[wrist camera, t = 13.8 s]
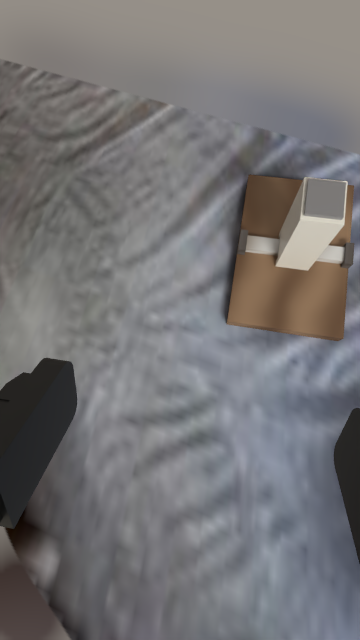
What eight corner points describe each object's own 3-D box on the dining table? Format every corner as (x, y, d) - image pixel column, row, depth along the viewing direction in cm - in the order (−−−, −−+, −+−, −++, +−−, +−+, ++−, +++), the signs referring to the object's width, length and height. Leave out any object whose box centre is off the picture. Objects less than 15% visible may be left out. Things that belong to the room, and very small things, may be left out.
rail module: (275, 266, 38) (301, 217, 28) (279, 231, 39) (306, 171, 29) (307, 270, 37) (346, 222, 27) (311, 235, 38) (349, 175, 28)
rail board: (226, 324, 38) (228, 318, 36) (247, 182, 42) (250, 167, 39) (337, 341, 37) (348, 336, 34) (348, 193, 41) (358, 179, 38)
